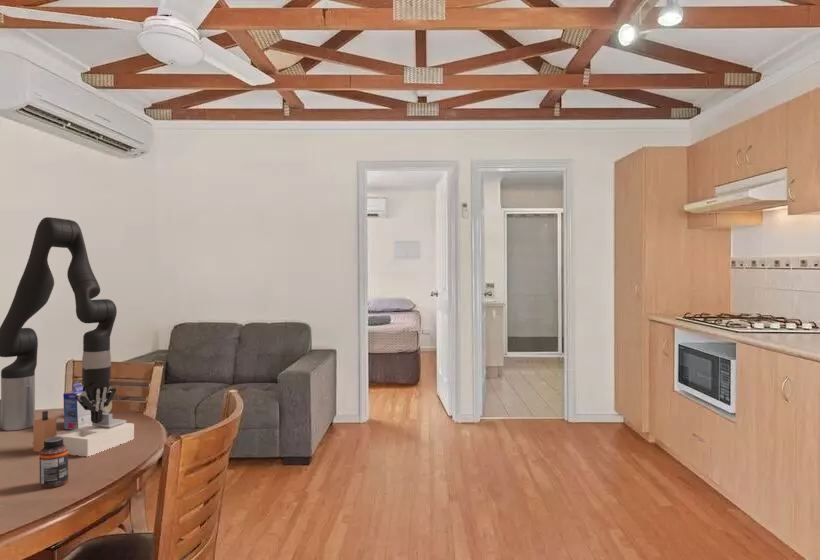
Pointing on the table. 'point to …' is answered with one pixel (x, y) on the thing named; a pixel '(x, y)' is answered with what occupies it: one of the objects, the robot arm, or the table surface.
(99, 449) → the socket
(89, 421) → the ink cartridge box
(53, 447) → the supplement bottle
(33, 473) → the table surface
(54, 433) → the plug
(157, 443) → the table surface
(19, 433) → the table surface
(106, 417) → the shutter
